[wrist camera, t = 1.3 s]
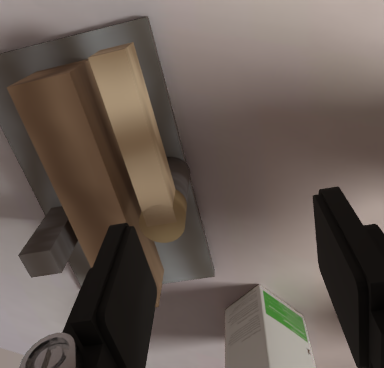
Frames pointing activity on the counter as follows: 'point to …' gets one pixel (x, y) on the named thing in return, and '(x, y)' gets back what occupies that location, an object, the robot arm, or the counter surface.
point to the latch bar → (139, 142)
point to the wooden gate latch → (90, 155)
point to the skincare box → (265, 333)
